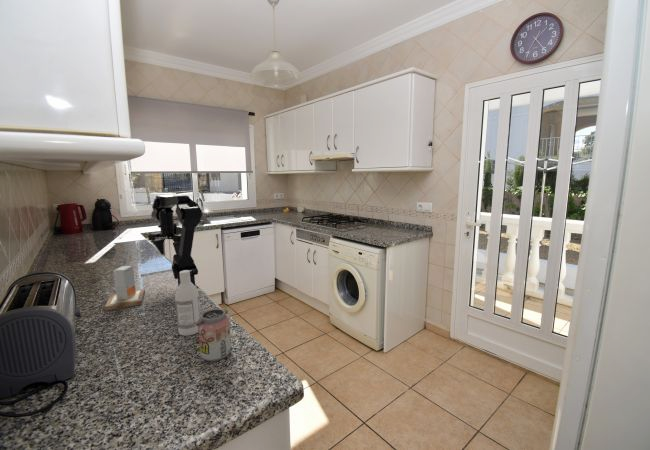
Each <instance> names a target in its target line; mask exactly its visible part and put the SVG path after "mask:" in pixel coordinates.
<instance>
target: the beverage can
mask: <svg viewBox="0 0 650 450" xmlns="http://www.w3.org/2000/svg"><path fill="white" fill-rule="evenodd" d="M228 312H229V311H228V309H226V308H225V309H222V308H212V309H207V310H205V311H204V312H202V313H201V315H200V319H198V321H197V322H196V323H195V325H196V326H198V333H197V334H198V343H199V350H200V352H199V353H200V357H201V359H202V360H205V361H206V362H219V361H221V360H222V359H224V358H226V357H227V356H228V355H229V354H230V353H231V351H232V339H231V328H230V319H229V317H228V316H227V314H228Z"/></svg>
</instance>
